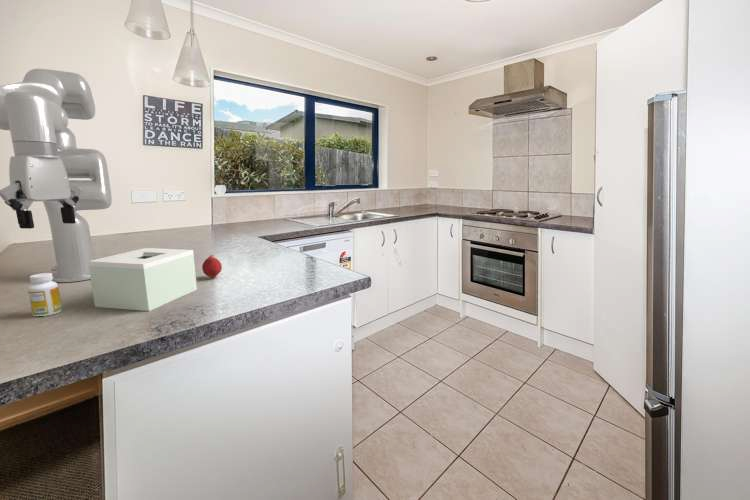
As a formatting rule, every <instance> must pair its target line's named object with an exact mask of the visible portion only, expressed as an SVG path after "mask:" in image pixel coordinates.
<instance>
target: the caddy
mask: <svg viewBox="0 0 750 500" xmlns="http://www.w3.org/2000/svg"><path fill="white" fill-rule="evenodd" d="M194 255H195V253H194V250H193V249H180V248H179V249H176V248H159V247H158V248H155V247H154V248H153V247H144V248H143V247H142V248H139V249H134V250H131V251H126V252H122V253H119V254H113V255H109V256H105V257H104V256H103V257H100V258H96V259H94V260H91V261H88V265H89V271H90V278H91V279H90V282H91V283H90V284H91V290H92V296H93V302H94V307H95V308H107V309H117V310H118V309H119V310H132V311H142V312H150V311H152V310H155V309H157V308H160V307H162V306H164V305H166V304H168V303H171V302H173V301H175V300H177V299H179V298H181V297H182V298H183V296H186V295H188V294H190V293H193V292H195V291H197V290H198V286H197V285H198V284H197V276H196V275H197V274H196V266H195V265H196V264H195V256H194Z"/></svg>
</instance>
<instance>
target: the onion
mask: <svg viewBox="0 0 750 500" xmlns="http://www.w3.org/2000/svg"><path fill="white" fill-rule="evenodd" d="M201 267H202V272H203V274H204V275H205V276H207V277H209V278H211V279H215V278H217V276H218V275H219V274H220V273H221V272H222V269H223V266H222V263H221V261H220V260H219V259H217V258H216V257H214V254H209V255H208V258H206V259H205V260H204V262H203V263H202V265H201Z"/></svg>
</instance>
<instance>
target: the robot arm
mask: <svg viewBox="0 0 750 500" xmlns="http://www.w3.org/2000/svg"><path fill="white" fill-rule="evenodd" d="M95 115H96V104H95V102H94V98H93V93H92V90H91V87H90V85H89V83H88V81H87V80H86V78H85V77H83V76H82V75H81V74H79V73H77V72H70V71H63V70H55V69H47V68H33V69H30V70H28V71H27V72H26V73H25V74H24V77H23V79H22V81H20V82H15V83H7V84H2V85H0V130H2V131H9V132H10V133H9V134H10V138H11V143H12V148H13V155H14V156H12V155H11V156H10V159H9V164H8V165H9V166H8V172H9V173H8V174H9V176H8V177H9V185H8V186H5V187H4V188H1V189H0V197H1V198H2V200H3V201H4V203H5V204H6V205H7V206H8V207H10V208H11V210H12V211H15V213H16V218H17V224H18V226H19V228H20V229H27V230H28V229H34V228H35V223H34V218H33V212H32V210H29V208H30V207H31V206H32V204H33V202H43V203H42V204H43V205H44V209H45V211H46V215H47V218H48V223H49V227H50V234H51V238H52V245H53V250H54V256H55V262H56V264H55V265H54V266H52V267H51V268H50V271H52V272H56V274H55V275H54V276H53V279H52V281H53V282H56V283H74V282H76V283H77V282H81V281H88V280H91V278H90V271H89V265H88V261H91V260H95V259H94V258H95V256H94V250H93V246H92V245H93V244H92V238H91V232H90V225H89V223H88V221H87V220H86V219H85V218H84V217H83V216H81V215H80V214H79V213H77V212H78V211H94V210H95V211H96V210H107V209H108V208H110V207H111V205H112V201H113V199H112V190H111V183H110V177H109V176H110V175H109V169H108V164H107V160H106V157H105V155H104V154H103V152H101V151H100V150H97V149H95V148H78V147H77V141H76V136H75V134H74V133H73V132H72V130H71V129H69V128H68V125H69V119H70V120H80V121H81V120H84V121H86V120H87V121H88V120H89V121H90V120H91V119H94V118H95ZM73 179H74V180H73ZM76 179H77V180H76ZM78 179H81V180H78ZM82 179H89V180H82Z"/></svg>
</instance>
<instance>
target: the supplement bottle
mask: <svg viewBox="0 0 750 500" xmlns="http://www.w3.org/2000/svg"><path fill="white" fill-rule="evenodd" d="M53 277H54V276H53V273H51V272H43V273H37V274H33V275H30V276H29V281H30V283H31V284H30V285H29V286H28V287H27V292H28V297H29V302H30V308H31V312H32V316H33V317H35V316H45V317H48V316H47V315H51V316H53V315H52V314H54V315H57V314H60V313H61V312H62V311H63V306H62V305H63V304H62V300H61V296H60V290H59V284H58V282H55V281H53ZM56 313H57V314H56Z"/></svg>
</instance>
